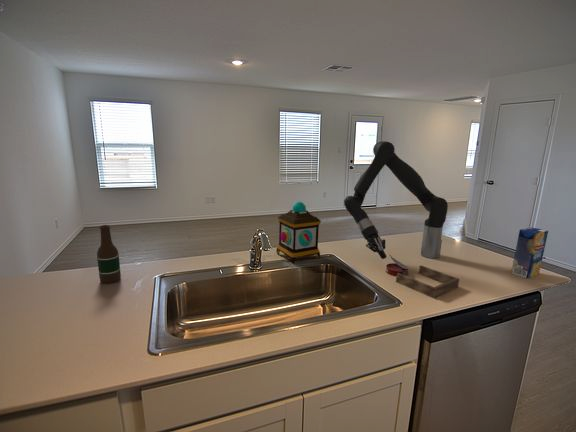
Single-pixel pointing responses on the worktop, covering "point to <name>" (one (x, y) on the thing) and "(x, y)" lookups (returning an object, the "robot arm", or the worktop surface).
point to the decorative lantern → (298, 233)
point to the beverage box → (529, 252)
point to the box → (428, 290)
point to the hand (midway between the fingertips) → (384, 258)
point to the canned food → (396, 268)
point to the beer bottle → (108, 258)
